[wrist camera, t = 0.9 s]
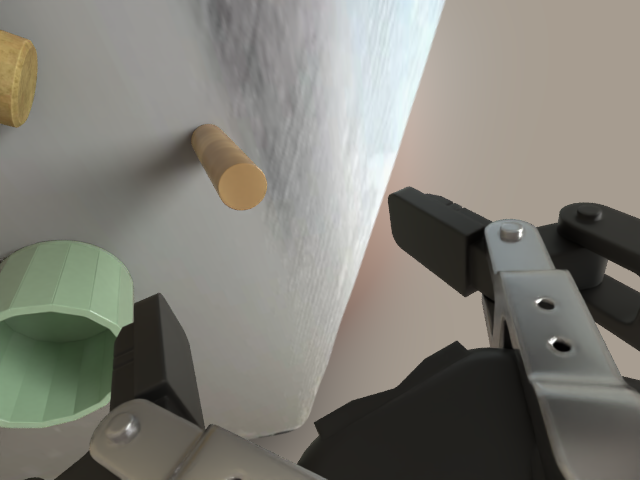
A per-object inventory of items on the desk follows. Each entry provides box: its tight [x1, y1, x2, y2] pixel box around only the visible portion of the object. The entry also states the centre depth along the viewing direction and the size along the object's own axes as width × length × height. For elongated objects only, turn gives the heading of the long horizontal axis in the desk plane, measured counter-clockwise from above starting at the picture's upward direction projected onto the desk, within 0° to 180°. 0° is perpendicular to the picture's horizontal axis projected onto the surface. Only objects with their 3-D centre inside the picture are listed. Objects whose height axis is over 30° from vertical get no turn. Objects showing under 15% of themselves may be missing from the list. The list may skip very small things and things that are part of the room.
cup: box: [0, 240, 134, 428], centre depth 24 cm, size 9×9×8 cm
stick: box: [191, 124, 267, 210], centre depth 23 cm, size 2×2×10 cm
